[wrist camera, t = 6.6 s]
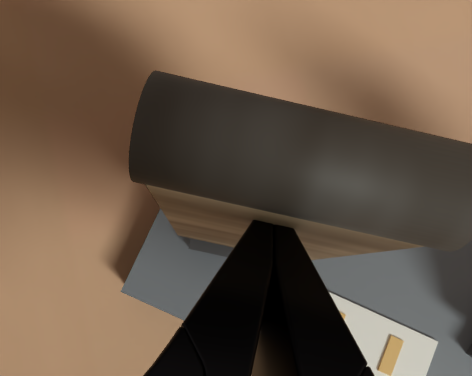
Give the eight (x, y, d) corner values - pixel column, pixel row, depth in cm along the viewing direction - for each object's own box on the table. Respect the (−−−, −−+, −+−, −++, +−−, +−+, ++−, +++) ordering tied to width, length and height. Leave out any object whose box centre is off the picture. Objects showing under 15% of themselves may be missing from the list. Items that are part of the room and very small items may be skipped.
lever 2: (300, 264, 17) (488, 248, 6) (174, 237, 17) (121, 165, 6) (308, 221, 17) (498, 128, 6) (185, 194, 17) (153, 48, 6)
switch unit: (531, 471, 20) (578, 504, 17) (127, 287, 20) (115, 294, 17) (587, 292, 21) (638, 300, 18) (207, 119, 21) (207, 103, 18)
